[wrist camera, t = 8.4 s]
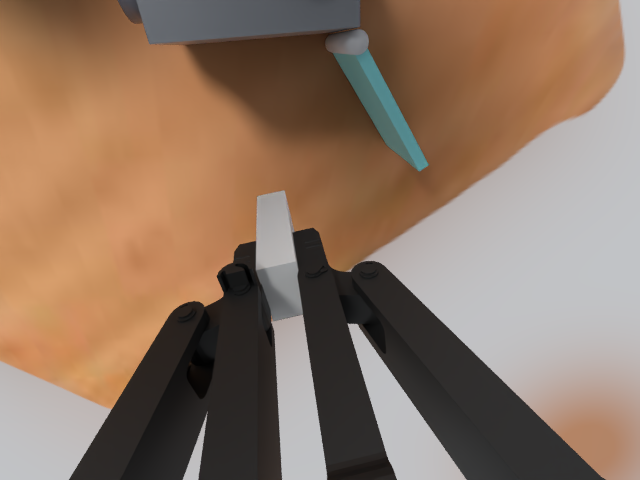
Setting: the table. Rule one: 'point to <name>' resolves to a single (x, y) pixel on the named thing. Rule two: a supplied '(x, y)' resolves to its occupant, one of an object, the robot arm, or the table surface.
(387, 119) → the teal flat slab
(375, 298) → the robot arm
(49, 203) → the table surface
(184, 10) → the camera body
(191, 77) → the table surface
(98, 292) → the table surface
